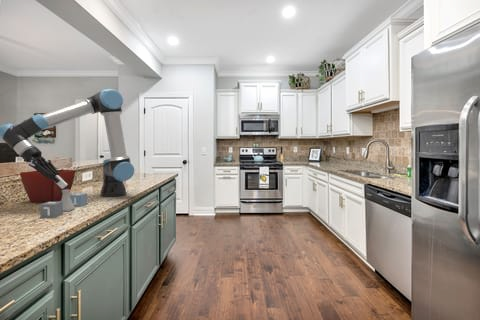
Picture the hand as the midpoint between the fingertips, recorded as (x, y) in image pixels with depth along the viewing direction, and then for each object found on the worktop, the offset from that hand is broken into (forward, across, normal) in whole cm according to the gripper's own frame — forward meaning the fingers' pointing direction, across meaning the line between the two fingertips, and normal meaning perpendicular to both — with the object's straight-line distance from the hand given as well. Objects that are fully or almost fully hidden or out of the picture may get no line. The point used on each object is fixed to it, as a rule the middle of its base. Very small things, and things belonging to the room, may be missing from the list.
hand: (64, 186), depth 131 cm
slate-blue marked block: (+9, -11, -8) cm, 16 cm away
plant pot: (-8, -25, -24) cm, 36 cm away
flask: (+9, 0, -8) cm, 12 cm away
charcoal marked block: (+9, +11, -8) cm, 16 cm away
